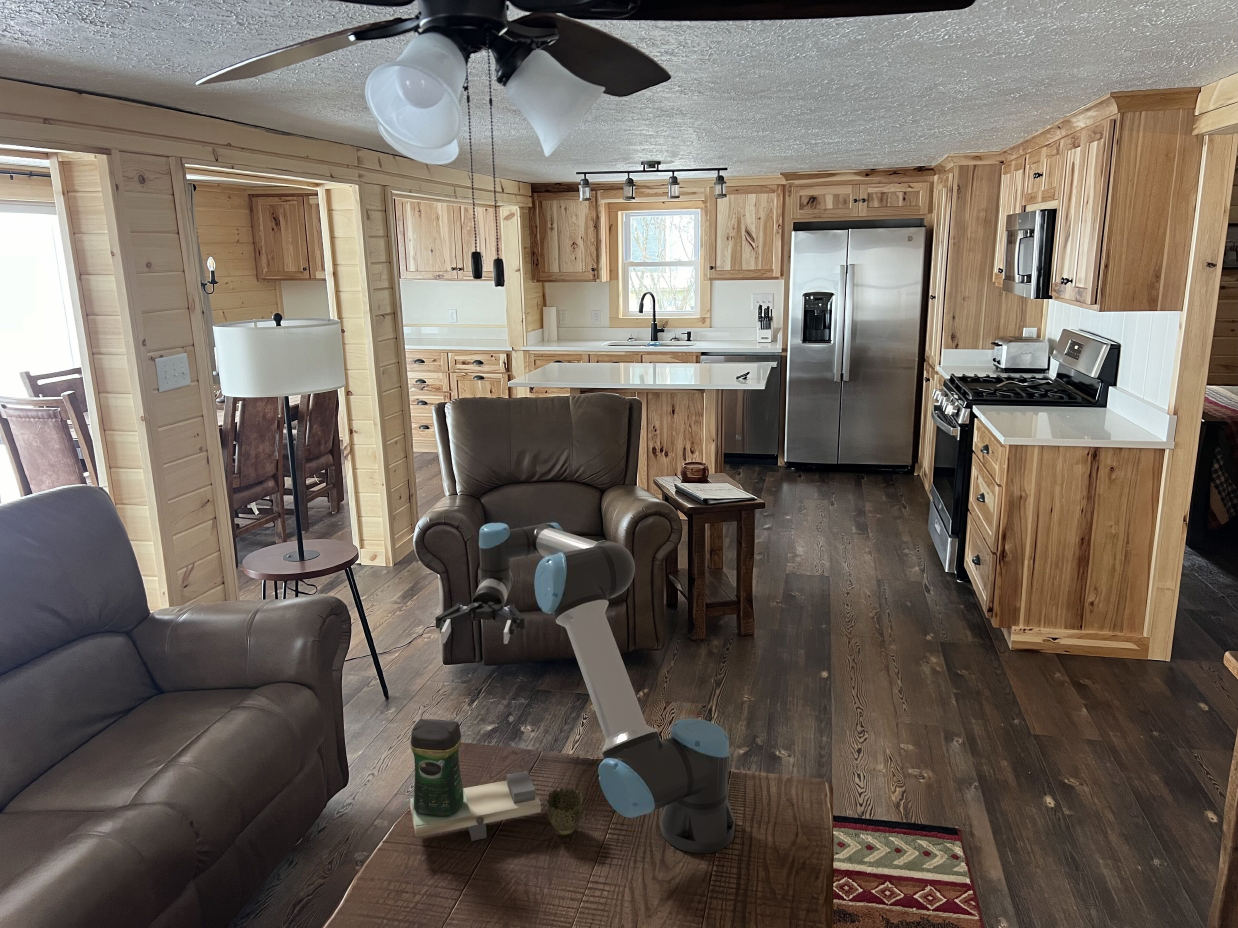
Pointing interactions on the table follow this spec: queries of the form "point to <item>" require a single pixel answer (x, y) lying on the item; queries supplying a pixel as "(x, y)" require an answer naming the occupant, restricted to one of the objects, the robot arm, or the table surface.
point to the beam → (484, 805)
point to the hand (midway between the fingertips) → (474, 637)
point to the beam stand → (477, 831)
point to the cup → (564, 810)
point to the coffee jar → (437, 767)
